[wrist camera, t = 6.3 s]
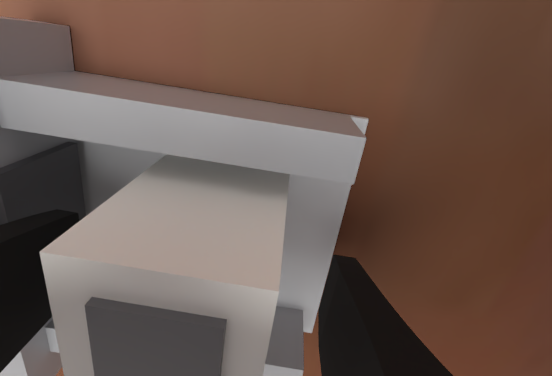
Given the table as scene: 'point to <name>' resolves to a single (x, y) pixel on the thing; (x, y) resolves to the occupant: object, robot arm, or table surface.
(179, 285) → the block
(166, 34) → the table surface
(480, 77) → the table surface
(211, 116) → the dock
